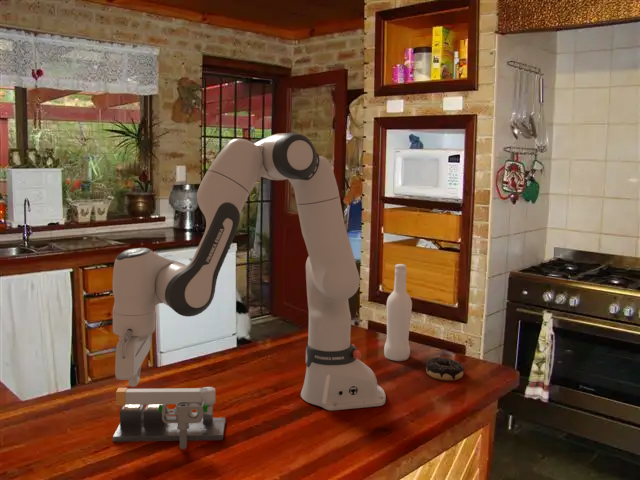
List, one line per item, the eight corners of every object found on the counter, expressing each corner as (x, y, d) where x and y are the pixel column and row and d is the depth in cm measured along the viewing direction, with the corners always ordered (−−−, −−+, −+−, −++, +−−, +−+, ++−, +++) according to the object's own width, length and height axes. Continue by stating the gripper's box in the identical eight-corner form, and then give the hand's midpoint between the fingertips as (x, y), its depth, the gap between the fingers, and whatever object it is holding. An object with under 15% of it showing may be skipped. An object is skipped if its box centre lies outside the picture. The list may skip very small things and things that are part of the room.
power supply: (166, 418, 147) (166, 403, 146) (164, 425, 143) (163, 410, 142) (147, 418, 147) (146, 403, 146) (143, 426, 143) (143, 410, 142)
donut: (425, 380, 179) (426, 367, 178) (424, 366, 191) (425, 353, 190) (465, 383, 177) (466, 370, 177) (461, 369, 189) (462, 356, 188)
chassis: (225, 422, 148) (225, 400, 147) (222, 440, 139) (222, 416, 139) (122, 423, 146) (121, 400, 145) (113, 441, 137) (112, 417, 137)
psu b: (143, 418, 146) (143, 403, 146) (140, 426, 143) (140, 410, 142) (124, 418, 146) (123, 403, 145) (120, 426, 142) (119, 410, 142)
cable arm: (215, 399, 147) (215, 386, 147) (214, 406, 144) (214, 392, 143) (119, 400, 145) (119, 386, 145) (115, 407, 142) (115, 392, 141)
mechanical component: (160, 444, 137) (160, 401, 135) (207, 443, 138) (207, 400, 136) (158, 451, 134) (157, 407, 132) (206, 450, 135) (206, 406, 133)
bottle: (408, 362, 192) (413, 267, 188) (382, 360, 194) (386, 266, 189) (410, 354, 200) (415, 263, 196) (385, 352, 202) (389, 261, 197)
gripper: (139, 338, 125) (139, 403, 127) (157, 311, 145) (156, 367, 147) (106, 337, 124) (107, 403, 126) (129, 310, 144) (129, 367, 146)
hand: (134, 384), depth 137 cm, fingers closed
